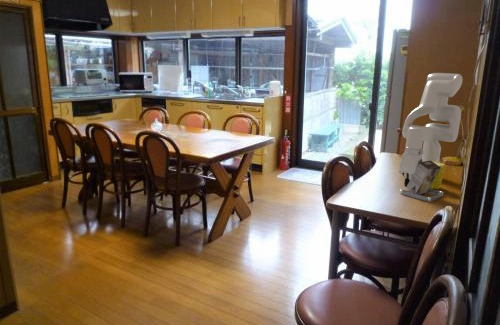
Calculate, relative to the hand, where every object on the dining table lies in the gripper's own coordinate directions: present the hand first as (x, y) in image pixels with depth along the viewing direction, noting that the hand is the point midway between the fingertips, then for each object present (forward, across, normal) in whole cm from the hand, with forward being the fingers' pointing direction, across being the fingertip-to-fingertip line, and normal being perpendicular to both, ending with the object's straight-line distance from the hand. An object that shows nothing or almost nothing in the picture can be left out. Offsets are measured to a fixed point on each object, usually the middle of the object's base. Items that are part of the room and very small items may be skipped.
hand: (407, 186), depth 191 cm
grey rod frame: (+2, -8, 0) cm, 8 cm away
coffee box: (+1, -4, -1) cm, 5 cm away
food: (+2, -5, -16) cm, 17 cm away
